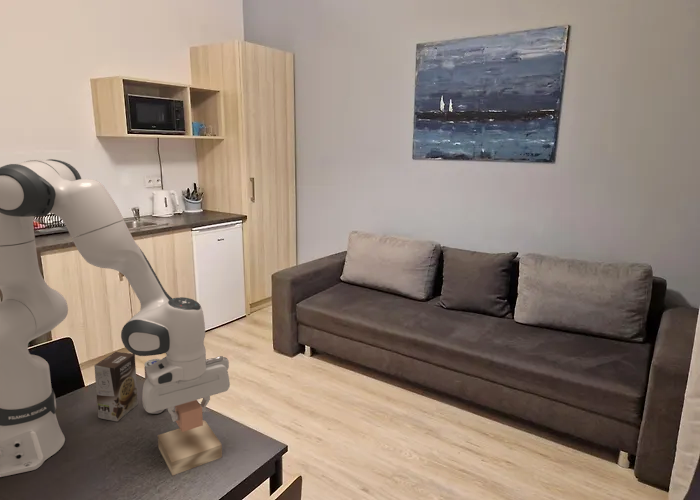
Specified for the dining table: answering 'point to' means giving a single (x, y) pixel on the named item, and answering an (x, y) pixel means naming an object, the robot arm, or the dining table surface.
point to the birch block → (189, 448)
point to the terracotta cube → (189, 415)
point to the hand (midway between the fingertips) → (188, 415)
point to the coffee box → (116, 386)
